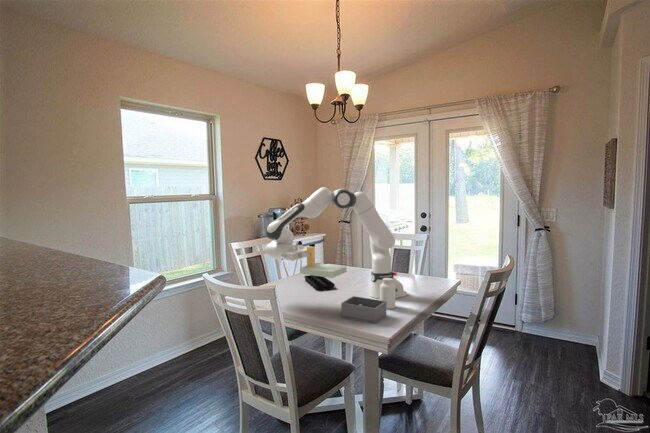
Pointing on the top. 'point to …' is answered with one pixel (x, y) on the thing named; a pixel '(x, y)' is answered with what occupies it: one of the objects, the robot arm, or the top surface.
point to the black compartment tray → (319, 282)
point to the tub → (363, 309)
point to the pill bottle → (388, 292)
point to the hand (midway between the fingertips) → (312, 254)
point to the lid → (320, 267)
